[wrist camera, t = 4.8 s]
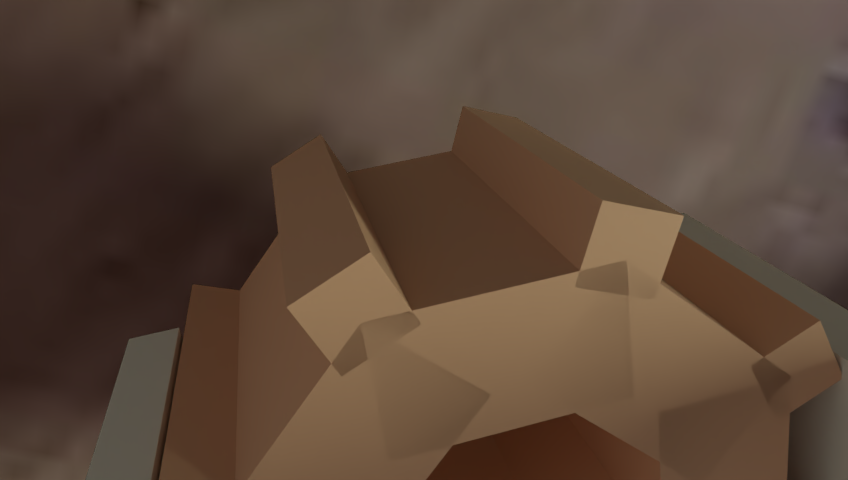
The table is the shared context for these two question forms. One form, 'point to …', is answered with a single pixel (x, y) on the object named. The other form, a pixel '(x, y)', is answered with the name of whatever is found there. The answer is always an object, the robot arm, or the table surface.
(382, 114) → the table surface
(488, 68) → the table surface
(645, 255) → the gear
